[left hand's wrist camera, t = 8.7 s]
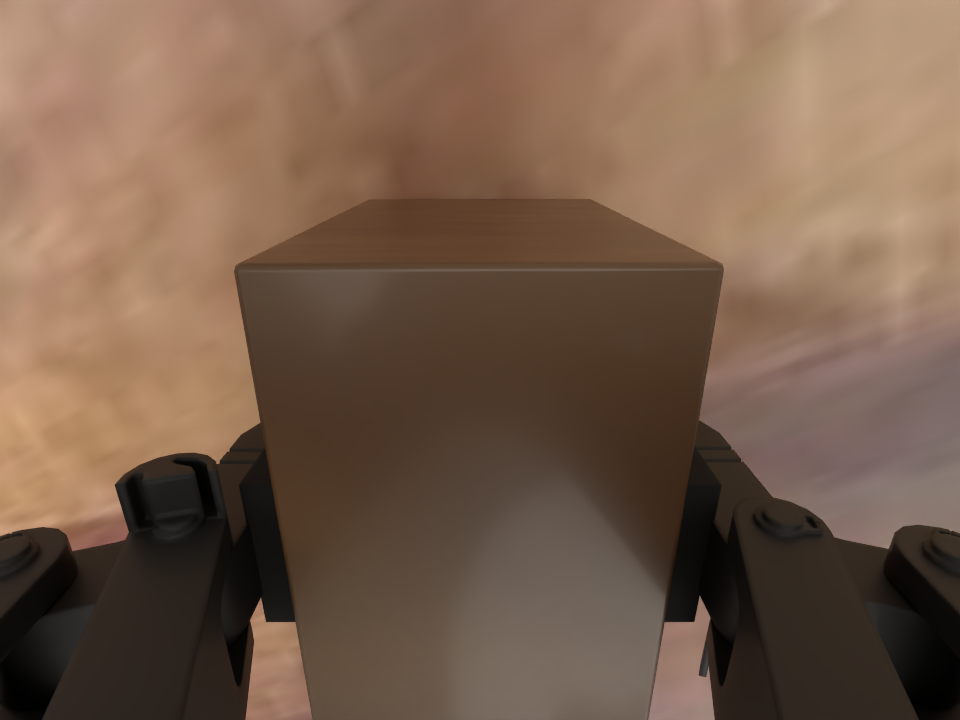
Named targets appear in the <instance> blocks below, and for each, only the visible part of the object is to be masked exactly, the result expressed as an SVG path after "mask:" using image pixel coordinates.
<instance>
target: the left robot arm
mask: <svg viewBox="0 0 960 720" xmlns="http://www.w3.org/2000/svg"><path fill="white" fill-rule="evenodd" d="M115 487H116V491H117V494H118V497H119V500H120V504H121V507H122V510H123V514H124V517H125V520H126V523H127V527H128V530H129V534H128V536H127V538H126V540H124V541H120V542H116V543H111V544H106V545H101V546H96V547H92V548H87V549H82V550H77V551H72V549H71V546H70V543H69V540H68V538H67V535H66V534H64V533H63V532H62V531H60V530H59V529H54V528H45V527H41V528H33V529H26V530H20V531H16V532H12V533H11V534H10V533H9V534H6V535H3V536H0V720H245V718H246V709H247V700H248V691H249V682H250V673H251V664H252V655H253V646H254V639H253V632H252V627H251V622H250V619H251V617H252V615H253V612H254V610H255V608H256V606H257V604H258V602H259V600H260V598H261V599H262V604H263V609H264V614H265V619H266V622H296V621H295V615H294V610H293V604H292V598H291V593H290V587H289V581H288V575H287V570H286V564H285V558H284V553H283V547H282V541H281V535H280V530H279V524H278V518H277V513H276V507H275V501H274V495H273V490H272V484H271V478H270V473H269V467H268V461H267V455H266V450H265V444H264V438H263V433H262V427H261V423H259V424H258V425H256V426H255V427H253V428H251V429H250V430H248V431H247V432H245V433H243V434H242V435H241V436H240V437H239V438H238V439H237V441H236V442H235V443H234V444H233V446H232V447H231V448H230V451H229V452H227V453H226V454H225V455H224V456H223V458H222V459H221V460H220V464H217V465H216V461H215V460H213V459H212V458H211V457H209V456H208V455H203V454H198V453H179V454H173V455H168V456H164V457H159V458H156V459H154V460H151V461H149V462H146V463H143V464H141V465H139V466H137V467H136V468H134V469H132V470H131V471H129V472H127V473H126V474H124V475H123V476H122V477H121V479H120V480H119V481H118V482H117V483H116V484H115ZM699 596H701V599H702V601H703V603H704V605H705V607H706V609H707V611H708V613H709V615H710V617H711V618H710V622H709V627H708V632H707V636H706V641H705V646H704V650H703V655H702V659H701V664H700V671H699V676H703V677H706V675H707V671H708V666H709V672H710V680H711V689H712V698H713V707H714V716H715V720H960V533H957V532H954V531H952V532H951V531H949V530H947V529H943V528H938V527H930V526H923V525H913V526H904V527H902V528H901V529H899V530H898V531H896V532H895V534H894V536H893V539H892V542H891V545H890V548H889V549H885V548H880V547H875V546H871V545H866V544H861V543H856V542H851V541H846V540H842V539H838V538H834V537H833V535H832V533H831V531H830V530H829V528H828V527H827V526H826V524H825V523H824V522H823V520H821V519H820V518H819V517H817V516H816V515H814V514H813V513H812V512H810V511H809V510H807V509H805V508H803V507H801V506H798V505H796V504H794V503H792V502H789V501H785V500H781V499H777V498H773V497H772V496H771V495H770V494H769V492H768V491H767V490H766V489H765V488H764V486H763V485H762V484H761V483H760V481H759V480H758V479H757V478H756V477H755V475H754V474H753V473H752V472H751V471H750V469H749V468H748V467H747V466H746V465H745V463H744V462H741V458H740V457H739V456H738V455H737V454H736V452H735V451H734V450H731V446H730V445H729V444H728V443H727V442H726V440H725V439H724V438H723V437H722V435H721V434H720V433H719V432H717V431H715V430H714V429H712V428H711V427H709V426H707V425H706V424H704V423H702V422H701V421H698V426H697V432H696V438H695V444H694V450H693V456H692V462H691V468H690V474H689V480H688V485H687V491H686V497H685V503H684V509H683V515H682V521H681V527H680V533H679V539H678V545H677V551H676V557H675V563H674V569H673V575H672V581H671V587H670V592H669V598H668V604H667V610H666V616H665V622H694V621H695V616H696V611H697V606H698V601H699Z"/></svg>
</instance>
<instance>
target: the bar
mask: <svg viewBox="0 0 960 720" xmlns="http://www.w3.org/2000/svg"><path fill="white" fill-rule="evenodd" d="M723 271H724V269H723V265H722V264H721V263H719V262H717V261H715V260H713V259H711V258H709V257H707V256H705V255H703V254H701V253H699V252H697V251H695V250H693V249H691V248H689V247H687V246H685V245H683V244H680V243H678V242H676V241H674V240H672V239H670V238H668V237H666V236H664V235H662V234H660V233H658V232H656V231H654V230H652V229H650V228H648V227H646V226H644V225H642V224H640V223H638V222H635V221H633V220H631V219H629V218H627V217H625V216H623V215H621V214H619V213H617V212H615V211H613V210H611V209H609V208H607V207H605V206H603V205H601V204H599V203H597V202H595V201H593V200H590V199H452V200H368V201H366V202H364V203H362V204H360V205H358V206H356V207H353V208H351V209H349V210H347V211H345V212H343V213H341V214H339V215H337V216H335V217H333V218H331V219H329V220H327V221H325V222H323V223H321V224H319V225H317V226H315V227H313V228H311V229H309V230H307V231H304V232H302V233H300V234H298V235H296V236H294V237H292V238H290V239H288V240H286V241H284V242H282V243H280V244H278V245H276V246H274V247H272V248H270V249H268V250H266V251H264V252H262V253H260V254H258V255H256V256H253V257H251V258H249V259H247V260H245V261H243V262H241V263H239V264H237V265H236V266H235V271H234V273H235V278H236V284H237V290H238V296H239V301H240V307H241V313H242V318H243V324H244V330H245V336H246V341H247V347H248V353H249V358H250V364H251V370H252V376H253V381H254V387H255V393H256V398H257V404H258V410H259V415H260V421H261V427H262V433H263V438H264V444H265V450H266V455H267V461H268V467H269V473H270V478H271V484H272V490H273V495H274V501H275V507H276V513H277V518H278V524H279V530H280V535H281V541H282V547H283V553H284V558H285V564H286V570H287V575H288V581H289V587H290V593H291V598H292V604H293V610H294V615H295V621H296V627H297V633H298V638H299V644H300V650H301V655H302V661H303V667H304V673H305V678H306V684H307V690H308V695H309V701H310V707H311V712H312V718H313V720H648V717H649V711H650V705H651V699H652V694H653V688H654V682H655V676H656V670H657V664H658V658H659V652H660V646H661V640H662V634H663V628H664V622H665V616H666V610H667V604H668V598H669V592H670V587H671V581H672V575H673V569H674V563H675V557H676V551H677V545H678V539H679V533H680V527H681V521H682V515H683V509H684V503H685V497H686V491H687V485H688V480H689V474H690V468H691V462H692V456H693V450H694V444H695V438H696V432H697V426H698V420H699V414H700V408H701V402H702V396H703V390H704V384H705V378H706V373H707V367H708V361H709V355H710V349H711V343H712V337H713V331H714V325H715V319H716V313H717V307H718V301H719V295H720V289H721V283H722V277H723Z"/></svg>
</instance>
